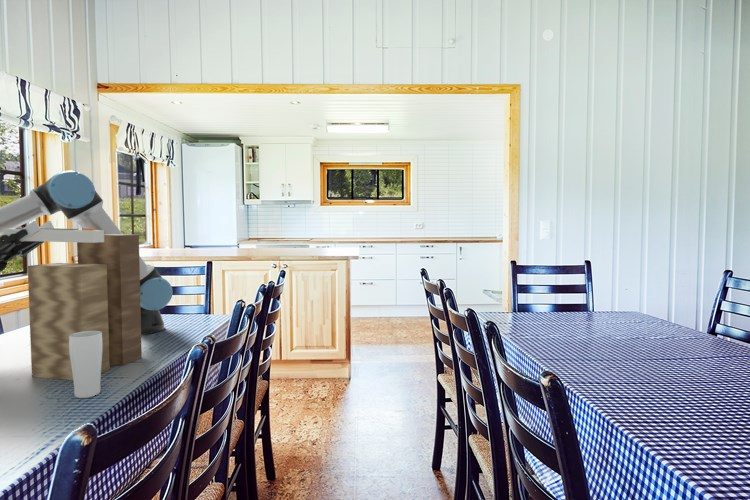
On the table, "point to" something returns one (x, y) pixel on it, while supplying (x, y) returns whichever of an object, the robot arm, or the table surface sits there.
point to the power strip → (63, 235)
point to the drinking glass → (86, 362)
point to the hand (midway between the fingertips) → (44, 225)
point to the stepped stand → (86, 305)
